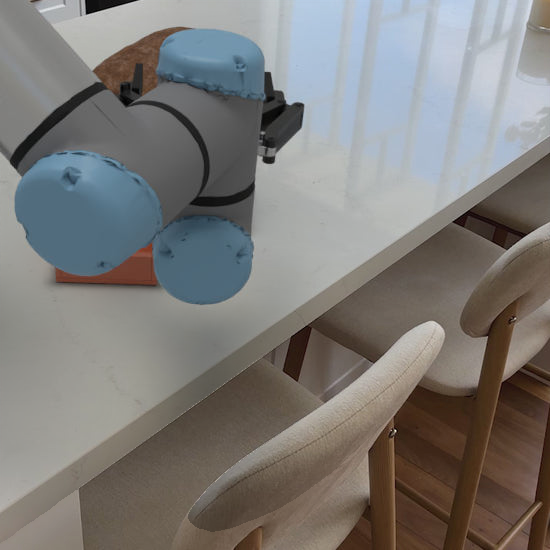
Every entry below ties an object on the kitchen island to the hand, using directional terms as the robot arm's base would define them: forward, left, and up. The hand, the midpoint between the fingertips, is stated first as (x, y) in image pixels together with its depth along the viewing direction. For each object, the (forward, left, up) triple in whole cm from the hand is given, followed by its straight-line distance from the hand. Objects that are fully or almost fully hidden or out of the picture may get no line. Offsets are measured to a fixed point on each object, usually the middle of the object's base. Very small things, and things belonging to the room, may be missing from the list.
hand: (203, 79), depth 95 cm
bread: (-4, +40, -22) cm, 45 cm away
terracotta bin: (-10, -2, -22) cm, 24 cm away
